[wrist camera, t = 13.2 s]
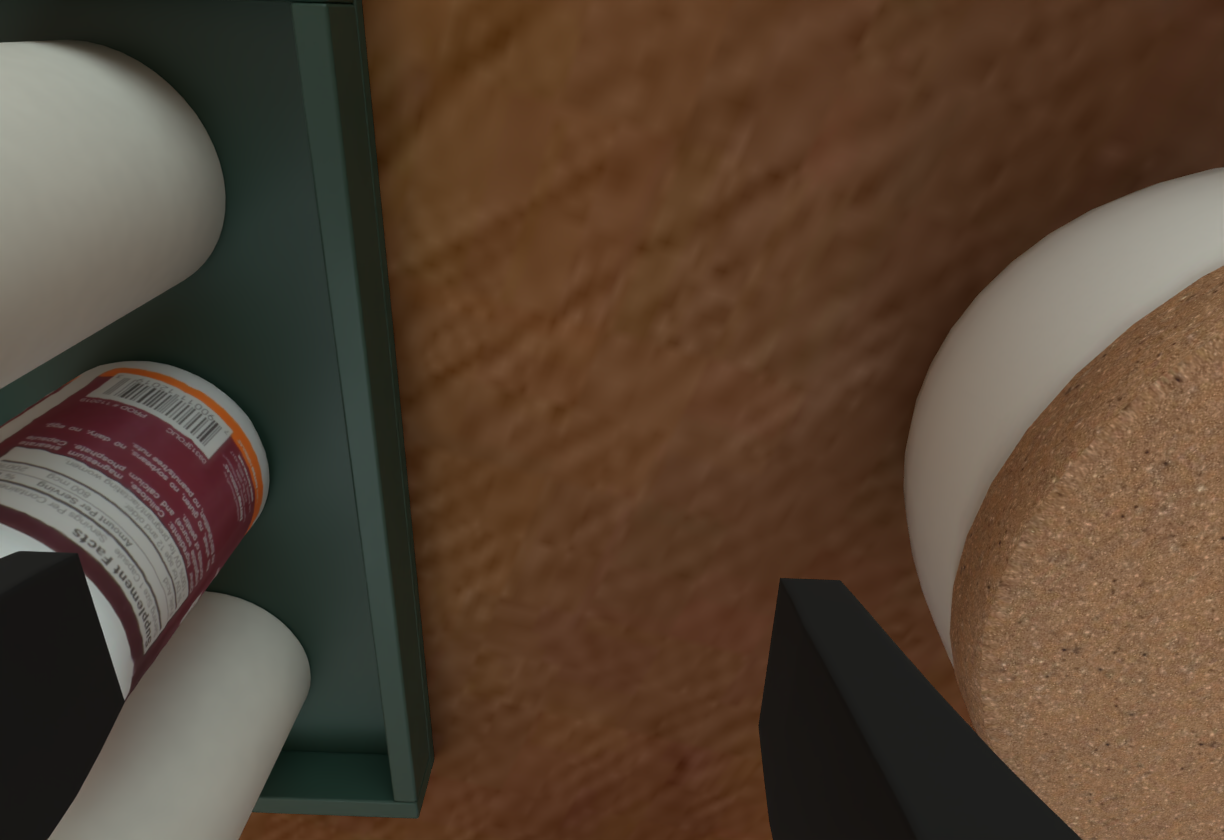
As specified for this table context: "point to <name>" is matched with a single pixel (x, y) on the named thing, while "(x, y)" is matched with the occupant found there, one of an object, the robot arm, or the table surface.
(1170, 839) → the trinket box
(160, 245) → the pale bottle near
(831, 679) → the robot arm
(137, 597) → the pill bottle
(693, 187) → the table surface
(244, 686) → the pale bottle far
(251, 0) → the tray
